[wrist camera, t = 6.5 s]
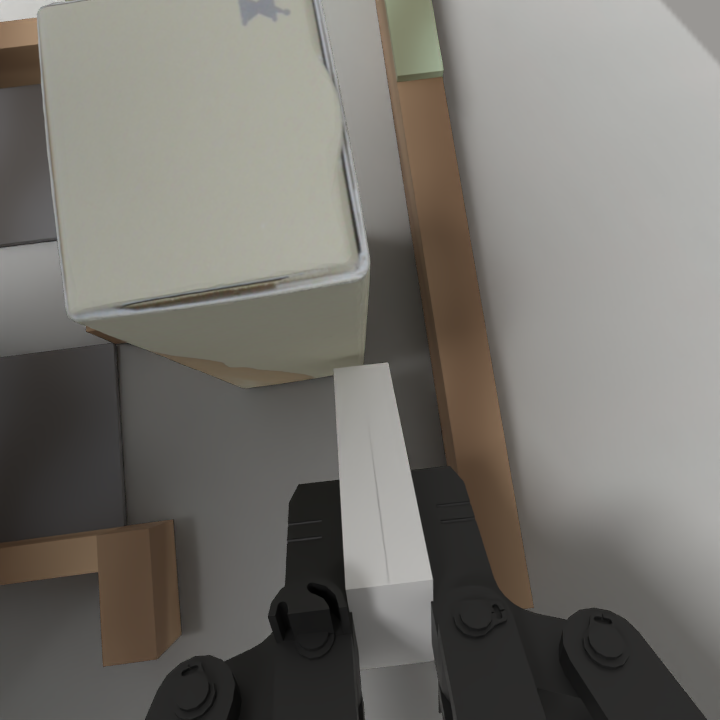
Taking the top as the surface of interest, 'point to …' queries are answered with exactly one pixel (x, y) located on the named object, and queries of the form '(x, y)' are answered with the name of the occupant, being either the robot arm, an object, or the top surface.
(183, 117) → the box
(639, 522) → the top surface
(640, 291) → the top surface
